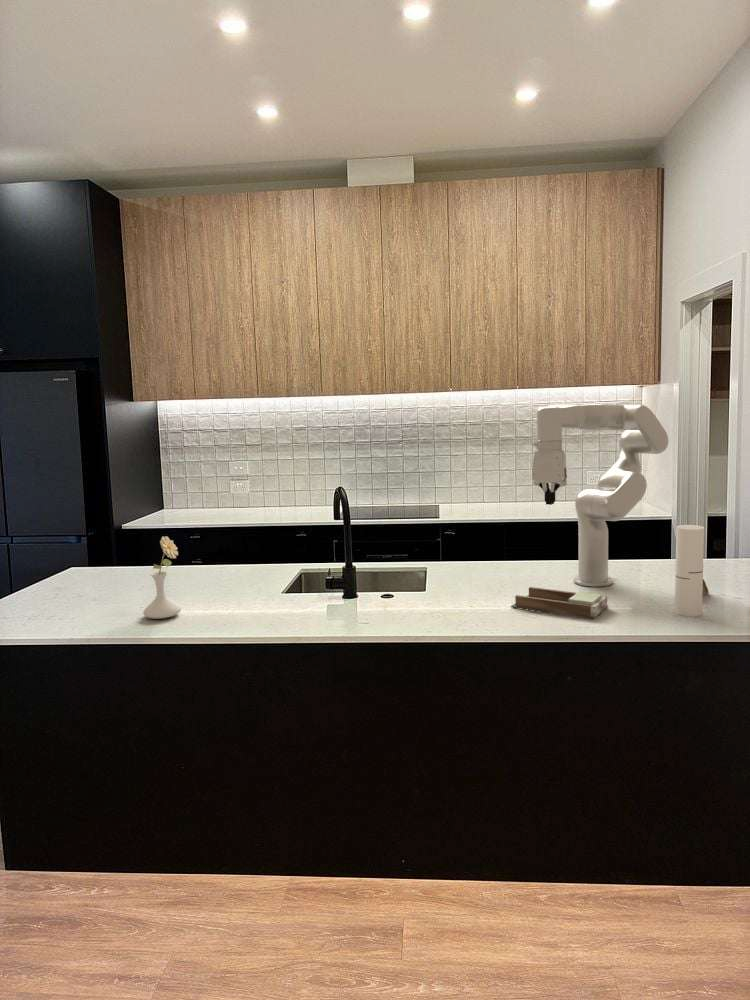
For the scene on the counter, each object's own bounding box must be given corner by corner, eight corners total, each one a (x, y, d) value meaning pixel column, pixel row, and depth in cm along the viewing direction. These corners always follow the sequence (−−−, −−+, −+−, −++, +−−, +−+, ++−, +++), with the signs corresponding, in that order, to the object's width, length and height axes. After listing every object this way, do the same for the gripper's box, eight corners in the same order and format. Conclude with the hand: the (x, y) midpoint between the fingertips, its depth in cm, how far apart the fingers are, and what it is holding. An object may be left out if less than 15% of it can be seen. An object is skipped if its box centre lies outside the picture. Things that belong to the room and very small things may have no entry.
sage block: (578, 603, 216) (578, 591, 216) (601, 606, 212) (601, 594, 212) (568, 610, 210) (568, 598, 209) (592, 614, 206) (592, 602, 205)
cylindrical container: (704, 616, 202) (706, 529, 198) (677, 616, 203) (679, 529, 200) (698, 608, 209) (700, 524, 205) (672, 608, 210) (674, 524, 206)
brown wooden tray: (528, 596, 228) (527, 585, 227) (607, 607, 214) (608, 595, 213) (511, 607, 217) (510, 596, 217) (593, 619, 203) (594, 607, 203)
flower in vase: (161, 624, 217) (153, 543, 213) (135, 619, 223) (128, 540, 219) (193, 611, 228) (186, 534, 224) (168, 607, 234) (161, 532, 230)
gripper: (522, 447, 226) (523, 504, 228) (568, 447, 217) (568, 507, 220) (531, 445, 232) (532, 501, 234) (577, 445, 223) (577, 503, 226)
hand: (550, 503), depth 227 cm, fingers closed
